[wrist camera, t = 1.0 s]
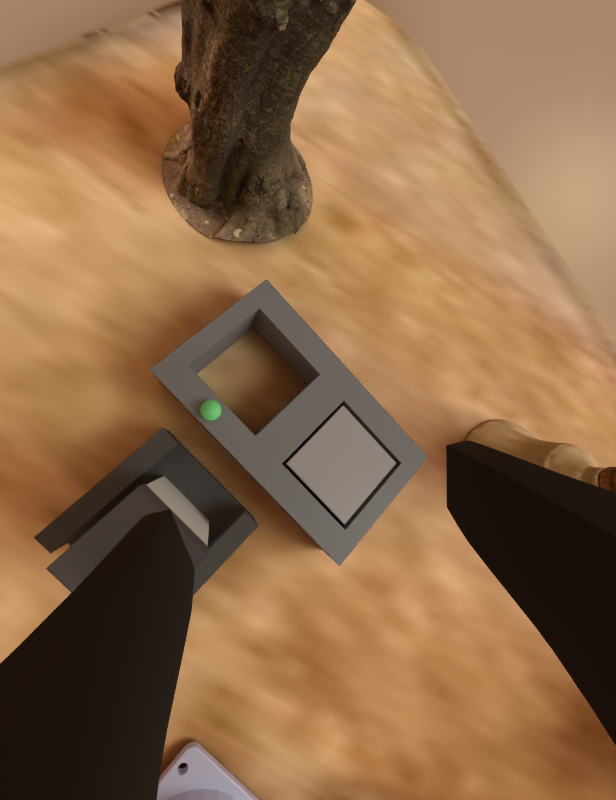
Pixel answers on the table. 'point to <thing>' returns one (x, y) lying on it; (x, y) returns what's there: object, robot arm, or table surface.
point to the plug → (123, 519)
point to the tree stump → (245, 114)
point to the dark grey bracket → (143, 468)
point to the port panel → (301, 425)
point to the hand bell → (543, 452)
